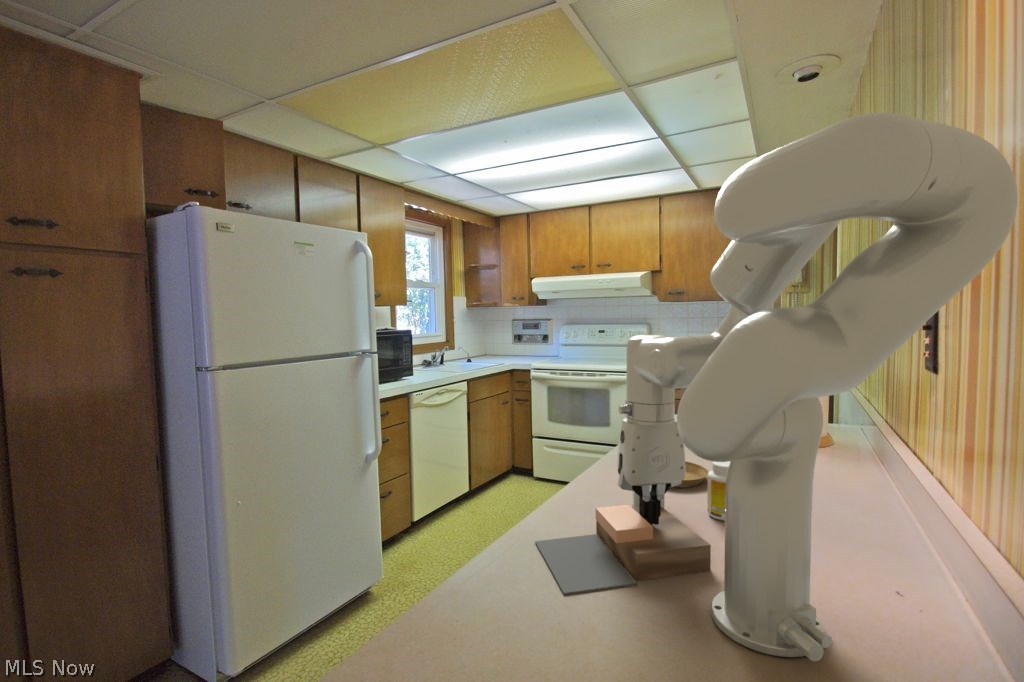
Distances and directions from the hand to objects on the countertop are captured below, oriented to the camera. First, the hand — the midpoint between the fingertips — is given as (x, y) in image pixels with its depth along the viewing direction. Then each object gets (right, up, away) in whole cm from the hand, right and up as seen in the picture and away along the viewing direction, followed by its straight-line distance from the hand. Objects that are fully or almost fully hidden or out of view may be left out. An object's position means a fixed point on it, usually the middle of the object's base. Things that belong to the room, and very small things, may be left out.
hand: (649, 521), depth 82 cm
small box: (+4, -4, +15) cm, 16 cm away
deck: (0, -5, 0) cm, 5 cm away
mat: (-12, -5, -3) cm, 13 cm away
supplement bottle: (+18, -4, +13) cm, 22 cm away
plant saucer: (+15, -3, +34) cm, 37 cm away
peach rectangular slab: (-5, -1, -1) cm, 5 cm away
